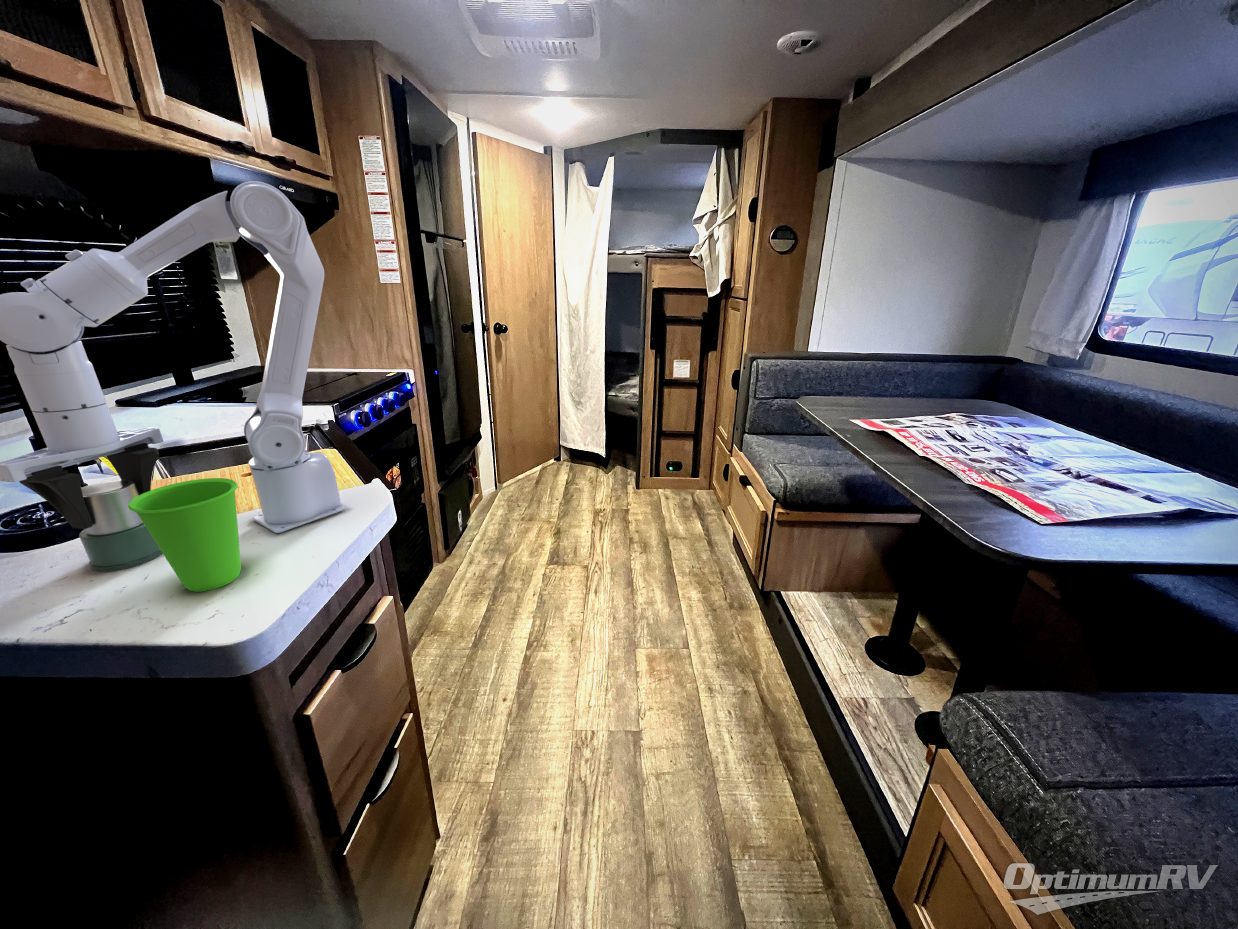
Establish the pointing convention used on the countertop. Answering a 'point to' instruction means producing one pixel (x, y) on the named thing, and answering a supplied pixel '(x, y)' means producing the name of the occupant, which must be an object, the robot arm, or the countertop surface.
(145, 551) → the green round puck
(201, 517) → the cup
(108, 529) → the steel cup
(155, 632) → the countertop surface
